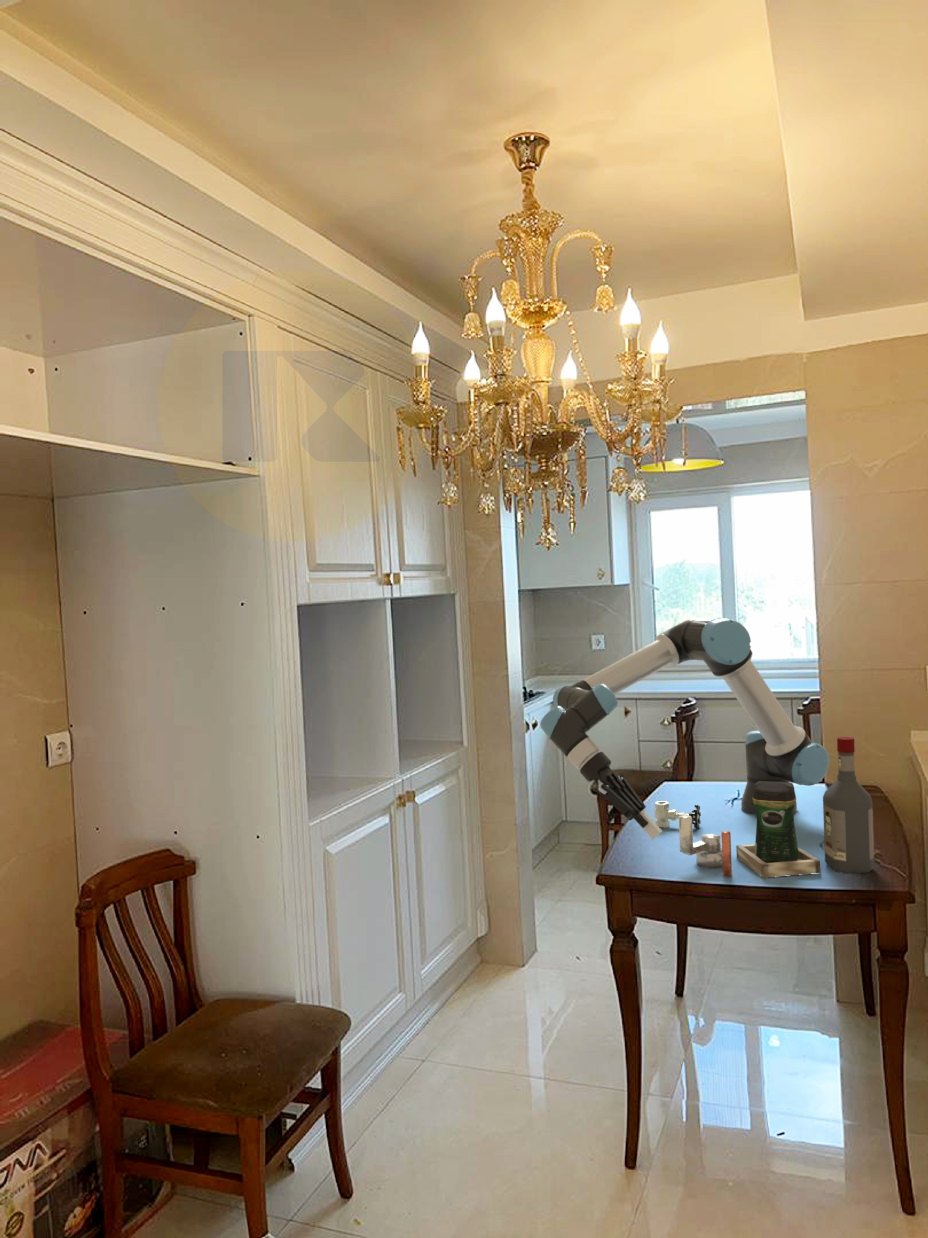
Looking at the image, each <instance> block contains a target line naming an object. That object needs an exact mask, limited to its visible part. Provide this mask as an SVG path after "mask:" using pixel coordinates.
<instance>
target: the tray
mask: <svg viewBox="0 0 928 1238" xmlns="http://www.w3.org/2000/svg"><path fill="white" fill-rule="evenodd" d="M735 846H736V859H738V860H739V861H741V862H742V863H743V864H744V865H745V866H747V867H749V868H750V869H751V870H752V871H753V870H754V871H753V872H755V873H756V874H757V873H758V874H757V875H759V876H760V875H761V876H762V877H761V876H760V877H761V878H762V879H769V878H768V877H775V876H785V875H799V874H811V873H821V871H822V870H821V860H820V859H818V858H817V857H815V856H814V855H812V854H811V853H809V852H808V851H806V850H804V849H803V848H801V847H799V846H798V855H799V858H798V860H797V861H788V862H776V863H765V862H764V861H762V860H761V859H760V858H758V857H757V856H755V843H751V844H737V845H735ZM821 874H822V873H821ZM799 876H800V875H799ZM775 878H776V877H775Z"/></svg>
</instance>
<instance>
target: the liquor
mask: <svg viewBox="0 0 928 1238" xmlns="http://www.w3.org/2000/svg"><path fill="white" fill-rule="evenodd" d="M855 747H856V746H855V737H850V736H838V737H837V738H836V750H837V758H838V759H837V765H838V767H837V768H838V769H837V771H838V773H837V775H836V778H837V779H836V780H835V781H834V782H833V783H832V784H831V785H830V786H829V787H828V788H827V789H826V790H825V791H824V792H823V795H822V810H823V811H822V812H823V837H824V839H823V842H824V862H825V863H826V865H827V866H828V867H829V866H830V868H831V869H832V870H833V869H834V870H833V871H834V872H837V873H841V872H842V873H843V874H846V873H847V874H848V873H850V874H866V873H870V872H871V871H872V870H873V869H874V867H875V843H874V841H875V838H874V809H873V807H874V806H873V799H872V796H871V794H870V793H869V792H868V791H867V789H865V788H864V787H863V786H862V784H860V782H859V781H858V780H857V776H856V769H855V766H856V765H855V752H856V750H855V749H856V748H855ZM842 873H841V874H842ZM848 875H849V874H848Z"/></svg>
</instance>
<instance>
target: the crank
mask: <svg viewBox="0 0 928 1238" xmlns="http://www.w3.org/2000/svg"><path fill="white" fill-rule="evenodd" d="M678 829H679V830H678V833H679V852H680V853H682V854H684V855H686V856H693V855H696V853H699V852H702V851H707V852H717V851H720V850H721V848H722V842H721V836H720V835H718V834H715V833H706V834H705V833H704V834H702V835H701V836H700V838H701V839H700V840H699V841H696V842H694V835H693V834H694V833H693V824H692V817H691V816H686V815H684V816H679V818H678Z"/></svg>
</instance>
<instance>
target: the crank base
mask: <svg viewBox="0 0 928 1238" xmlns="http://www.w3.org/2000/svg"><path fill="white" fill-rule="evenodd" d="M731 837H732V836H731V831H728V830H723V831H721V836H720V838H721V850H720V851H717V852H707V851H702V852H699V853H696V854H695V857H696V865H697V866H699V867H701V868H706V869H720V868H722V876H723V877H724V876H725V877H726V878H731V877H733V869H732V867H733V866H732V865H733V863H732V843H731V842H732V840H731ZM725 877H724V878H725Z"/></svg>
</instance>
